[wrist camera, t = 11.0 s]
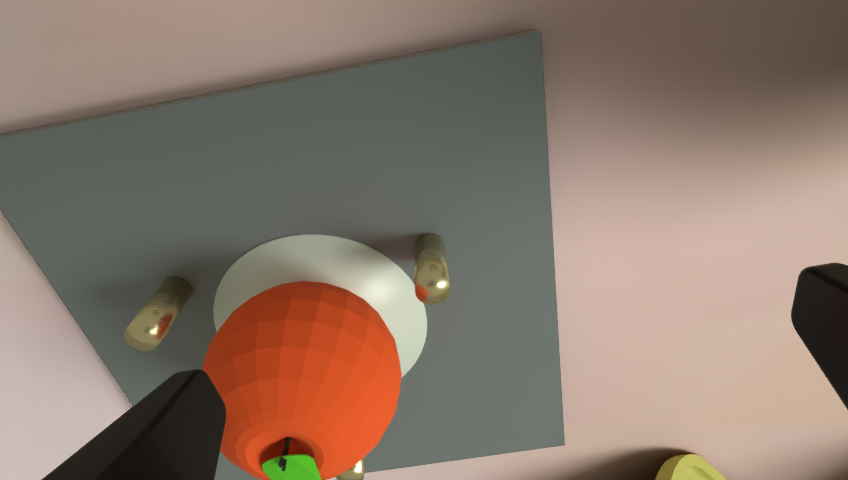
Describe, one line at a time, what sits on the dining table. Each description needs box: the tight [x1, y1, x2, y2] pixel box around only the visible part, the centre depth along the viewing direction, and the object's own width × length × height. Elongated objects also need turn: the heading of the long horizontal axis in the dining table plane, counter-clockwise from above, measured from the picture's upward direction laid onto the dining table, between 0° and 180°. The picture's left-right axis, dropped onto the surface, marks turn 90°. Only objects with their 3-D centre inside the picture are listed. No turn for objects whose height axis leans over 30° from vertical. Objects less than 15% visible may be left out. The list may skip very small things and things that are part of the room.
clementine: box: [202, 281, 402, 480], centre depth 18 cm, size 8×7×7 cm
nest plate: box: [0, 30, 565, 480], centre depth 21 cm, size 20×20×1 cm
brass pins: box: [124, 233, 450, 480], centre depth 20 cm, size 12×10×3 cm
